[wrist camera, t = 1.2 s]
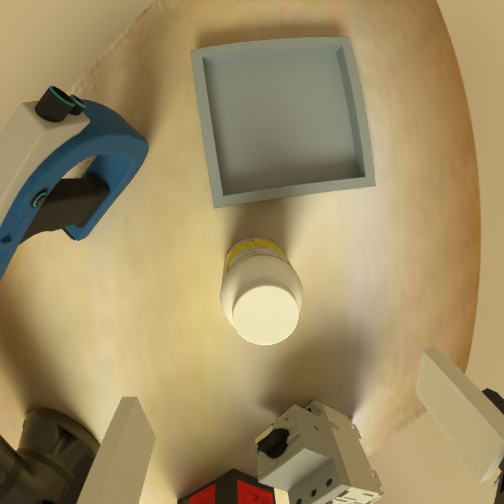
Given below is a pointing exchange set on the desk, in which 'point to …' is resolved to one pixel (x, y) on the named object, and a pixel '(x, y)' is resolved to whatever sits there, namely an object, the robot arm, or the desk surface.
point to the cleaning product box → (232, 491)
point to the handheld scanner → (62, 168)
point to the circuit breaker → (316, 458)
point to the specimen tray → (282, 119)
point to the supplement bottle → (260, 291)
